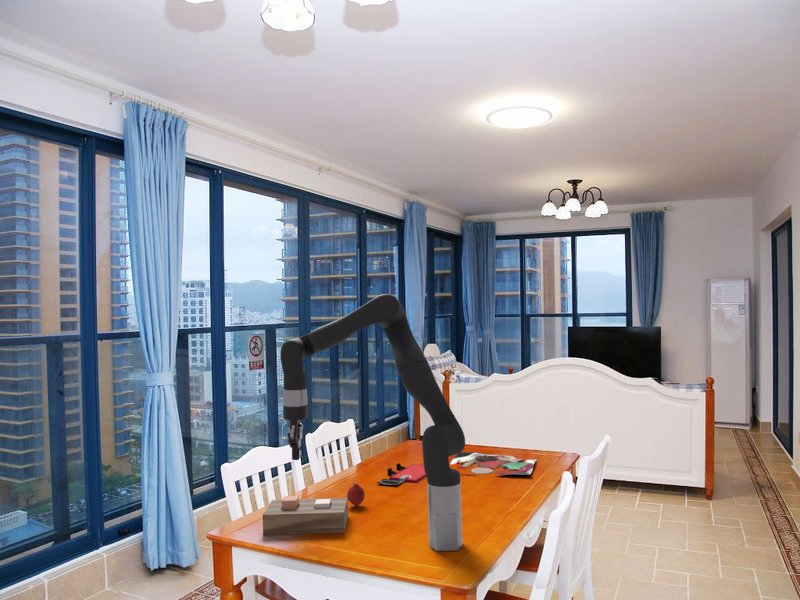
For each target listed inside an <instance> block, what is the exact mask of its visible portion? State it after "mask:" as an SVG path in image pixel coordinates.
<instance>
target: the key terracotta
mask: <svg viewBox="0 0 800 600" xmlns="http://www.w3.org/2000/svg"><path fill="white" fill-rule="evenodd" d="M299 499H300V498H299V495H290V496H289V495H287V496H285V495H283V498H282V499H281V500H282V509H298V507H299Z"/></svg>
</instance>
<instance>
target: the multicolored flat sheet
mask: <svg viewBox="0 0 800 600" xmlns="http://www.w3.org/2000/svg"><path fill="white" fill-rule="evenodd" d="M536 462H537V459H522V458H519V457H517V456H513V455H505V454H486V453H481V452H476V451H466V452H464V451H462V452H461V453H459V454H457V455H454V457H453V459H452V460H451V462H449V465H460V466H457V469H460V470H461V469H462V470H464V469H469V468H470V467H472V466H474V465H475V466H477V467H474V468H471V469H470V470H469V472H470V473H464V474H461V473H460V476H473V477H474V476H476V477H477V475H491V474H493V475H495V476H494V478H495V477H498V476H499V477H502V476H507V475H524V476H525V475H527V476H529V475H531V473H533V469H534V467H535V463H536ZM499 468H502V470H496V469H499Z"/></svg>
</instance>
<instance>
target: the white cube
mask: <svg viewBox="0 0 800 600" xmlns="http://www.w3.org/2000/svg"><path fill="white" fill-rule="evenodd" d="M316 499H317V500H316V502H315V508H331V499H323V498H316Z"/></svg>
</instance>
